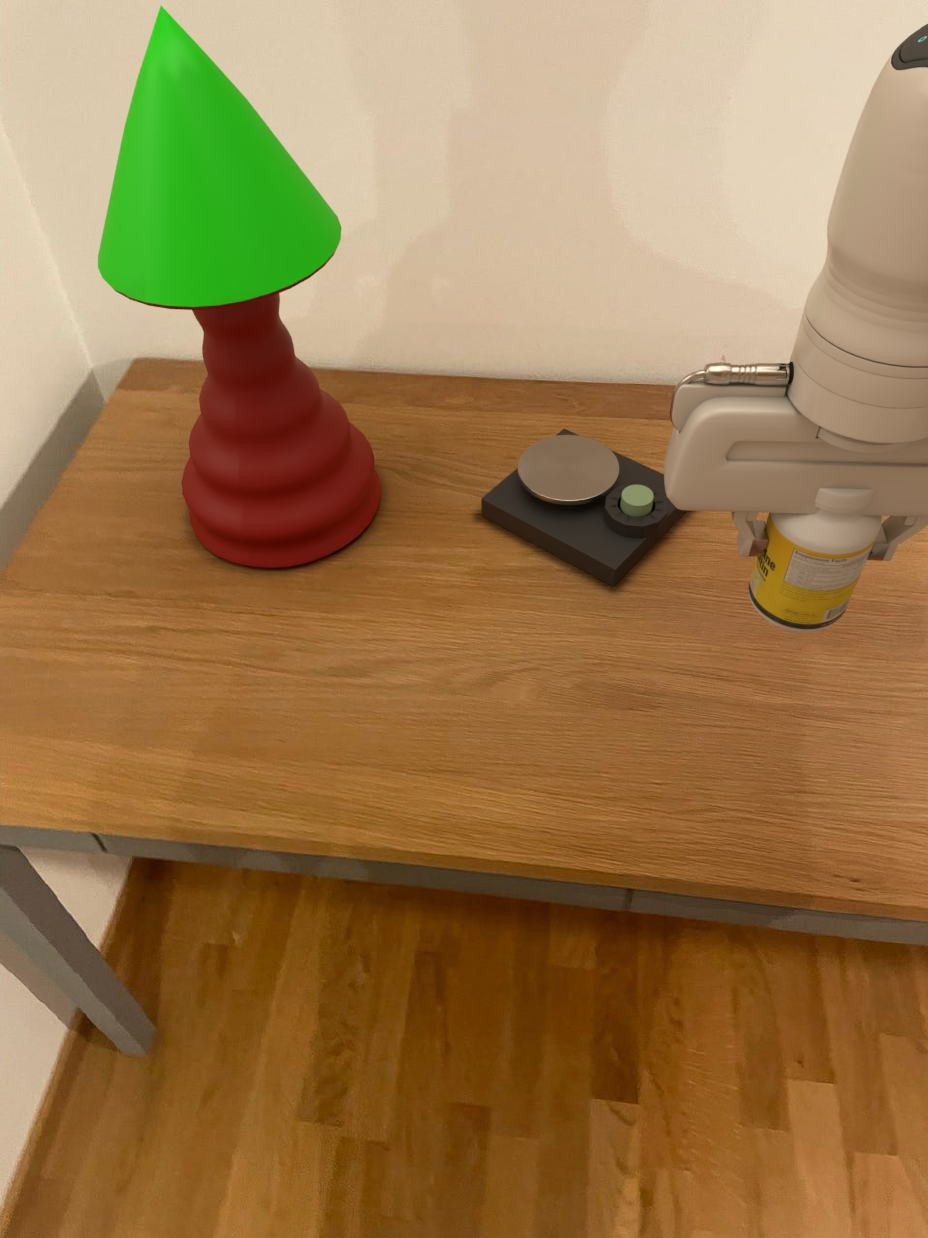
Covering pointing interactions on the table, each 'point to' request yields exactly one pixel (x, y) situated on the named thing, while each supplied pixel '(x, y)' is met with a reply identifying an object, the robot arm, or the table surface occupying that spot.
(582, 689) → the table surface
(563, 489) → the scale pan
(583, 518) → the scale
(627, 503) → the button
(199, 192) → the table lamp
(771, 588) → the pill bottle
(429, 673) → the table surface
